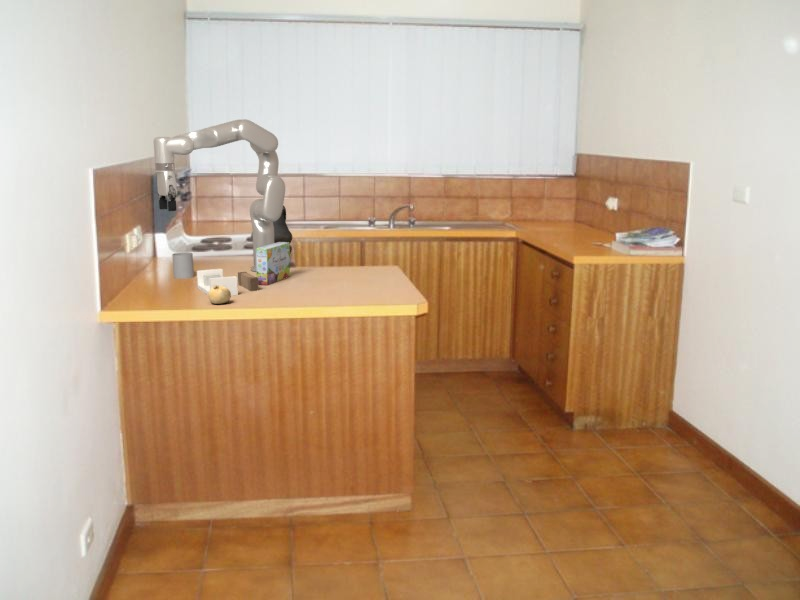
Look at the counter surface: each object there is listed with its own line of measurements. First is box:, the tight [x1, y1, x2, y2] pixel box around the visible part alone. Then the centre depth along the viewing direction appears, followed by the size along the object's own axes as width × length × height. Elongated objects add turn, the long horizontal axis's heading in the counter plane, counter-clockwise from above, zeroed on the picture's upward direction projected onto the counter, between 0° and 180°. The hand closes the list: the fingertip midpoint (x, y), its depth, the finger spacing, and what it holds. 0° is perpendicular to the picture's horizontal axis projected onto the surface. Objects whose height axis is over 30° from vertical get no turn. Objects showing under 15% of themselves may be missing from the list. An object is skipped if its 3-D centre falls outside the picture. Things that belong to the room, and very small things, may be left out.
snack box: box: [256, 242, 291, 286], centre depth 323 cm, size 21×6×15 cm, turn 163°
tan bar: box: [237, 271, 259, 292], centre depth 310 cm, size 3×16×5 cm, turn 28°
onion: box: [207, 285, 232, 305], centre depth 280 cm, size 8×8×7 cm
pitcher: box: [250, 204, 293, 244], centre depth 390 cm, size 21×22×25 cm
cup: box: [171, 252, 195, 280], centre depth 332 cm, size 8×8×10 cm
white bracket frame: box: [196, 268, 239, 296], centre depth 302 cm, size 10×21×7 cm, turn 28°
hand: (167, 210), depth 320 cm, fingers open, 9 cm apart
